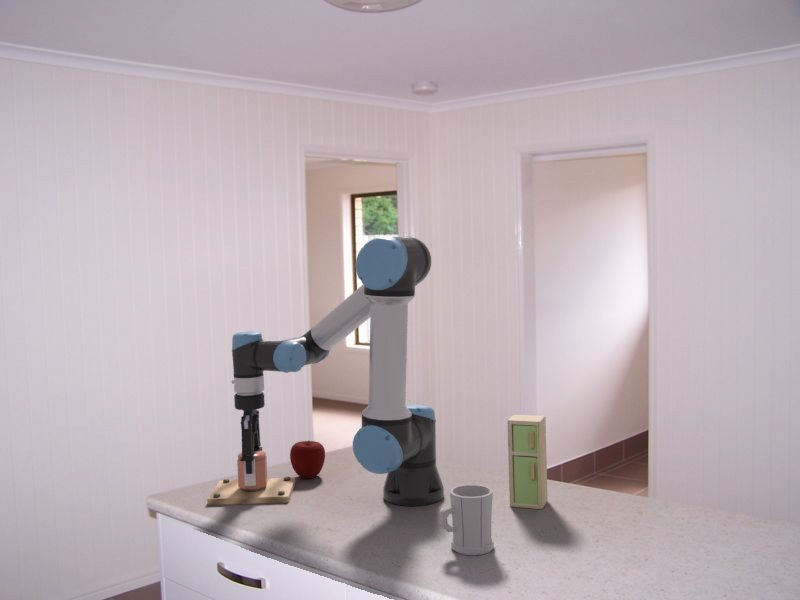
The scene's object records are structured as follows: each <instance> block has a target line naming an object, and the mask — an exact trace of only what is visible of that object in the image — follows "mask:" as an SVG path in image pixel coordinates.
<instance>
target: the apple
mask: <svg viewBox="0 0 800 600" xmlns="http://www.w3.org/2000/svg"><path fill="white" fill-rule="evenodd" d="M289 459H290V460H289V461H290V465H291V466H292V467H291V468H292V469H293V471H294V472H295V473H296V475H297V476H299V477H300V478H302V479H314V478H316V477H318V475H319V474H320V473H321V471H322V470H323V467H324V463H325V460H326V450H325V447H324V445H323V443H320V442H318V441H314V440H303V441H297V442H295V443H294V444H293V445H292V447H291V448H290V452H289Z"/></svg>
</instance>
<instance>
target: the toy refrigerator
mask: <svg viewBox="0 0 800 600" xmlns="http://www.w3.org/2000/svg"><path fill="white" fill-rule="evenodd" d="M546 424H547V423H546V415H540V414H539V415H538V414H518V413H517V414H512V415H511V416H510V417H509V418H508V419H507V450H508V451H507V452H508V484H509V487H508V488H509V489H508V490H509V507H511V508H522V509H534V510H542V509H544V507H545V505H546V504H547V502H548V497H549V496H548V467H547V466H548V465H547V463H548V461H547V431H546V430H547V429H546V427H547V425H546Z"/></svg>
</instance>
